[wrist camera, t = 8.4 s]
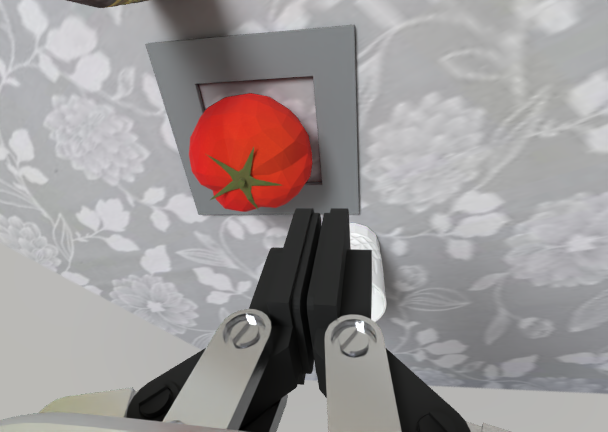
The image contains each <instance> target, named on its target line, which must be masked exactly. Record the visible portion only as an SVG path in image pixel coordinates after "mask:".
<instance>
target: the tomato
mask: <svg viewBox="0 0 608 432" xmlns="http://www.w3.org/2000/svg"><path fill="white" fill-rule="evenodd" d="M189 158H190V164H191V170H192V173H193V174H194V175H195V177H196V178H197V180H198V181H199V183H200V184H201V185H203V186H205V187H207V188H209V189H211V190H212V191H213V194H214V196H213V197H212V198H211V199H210V200H212V199H214V198H215V199H216V200H217V201H218V202H219V203H220V204H221V205H222V206H223V207H224V208H225V209H229V210H235V211H241V212H247V211H251V210H254V209H257V210H258V208H259V207H271V208H277V207H279V206H282V205H284V204H286V203H288V202H289V201H290V200H291V199H293V198H294V197H295V196H296V195H298V193H299V192H300V190H301V189H302V188H303V186H304V185H305V183H306V182H307V181H308V179H309V178H310V175H311V168H312V152H311V146H310V141H309V136H308V134H307V132H306V131H305V129H304V127H303V126H302V124H301V123H300V121H299V119H298V118H297V117H296V116H295V115H294V114H293V113H292V112H291V111H290V110H289V109H288V108H286V107H285V106H283V105H281V104H280V103H278V102H277V101H275V100H273V99H272V98H270V97H268V96H263V95H258V94H252V93H249V94H243V95H237V96H231V97H225V98H223V99H222V100H220V101H218V102H217V103H215V104H213V105H212V106H210V107H208V108H207V109H206V110H205V112H204V113H203V114H202V115H201V117H200V118H199V121H198V123H197V125H196V127H195V129H194V131H193V133H192V135H191V137H190V147H189Z"/></svg>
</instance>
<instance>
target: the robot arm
mask: <svg viewBox="0 0 608 432" xmlns="http://www.w3.org/2000/svg"><path fill="white" fill-rule="evenodd" d="M371 307H372V250H359V249H351V247H350V226H349V210H348V208H331V210H330V213H324V216H323V221H322V226H321V217H320V213H314V209H313V208H296V210H295V212H294V215H293V219H292V222H291V225H290V228H289V231H288V235H287V238H286V241H285V244H284V247H283V248H271V249H270V251H269V254H268V256H267V259H266V262H265V265H264V268H263V271H262V273H261V276H260V279H259V282H258V285H257V288H256V290H255V293H254V296H253V299H252V302H251V305H250V307H249V309H244V310H239V311H237V312H235V313H232V314H231V315H229V316H228V317H227V318H225V319H224V321H223V322H222V323H221V324H220V326H219V327H218V329H217V331H216V332H215V334H214V336H213V337H212V339H211V341H210V342H209V344H208V346H207V347H206V348H205V349H203V350H202V351H200V352H198V353H197V354H195V355H194V356H192V357H190V358H189V359H187V360H185V361H184V362H182V363H180V364H179V365H177V366H175V367H174V368H172V369H170V370H169V371H167V372H166V373H164V374H162V375H161V376H159V377H157V378H156V379H154V380H152V381H151V382H149V383H147V384H146V385H145V386H144V387H142V388H141V389H140V390H138V391H135V390H134V389H133V388H125V389H117V390H110V391H103V392H96V393H89V394H81V395H75V396H67V397H63V398H60V399H57V400H55V401H53V402H52V403H50V404H48V405H46V406H45V407H44V408H43V409H42V410H41V411H40V412H39V413H34V414H27V415H20V416H16V417H11V418H7V419H3V420H0V432H276V431H277V428H278V425H279V423H280V420H281V417H282V414H283V412H284V409H285V406H286V403H287V398H288V395H287V394H288V393H289V392H291V391H292V390H294V389H295V388H296V387H297V384H304V380H305V374H306V373H308V374H311V373H312V370H313V364H314V361H315V367H316V373H317V377H318V383H319V389H320V391H321V392H322V393H323V394H324V395H325V397H326V398H327V415H328V432H510V431H507V430H504V429H501V428H498V427H495V426H492V425H488V424H485V423H483V425H482V427H481V426H478V425H475V424H472V423H469V422H466V421H465V420H464V419H463V418H462V417H461V416H460V414H459V413H457V411H455V410H454V409H453V408H452V407H451V406H450V405H449V404H447V403H446V402H445V401H444V400H443V399H442V398H441V397H440V396H438V394H436V393H435V392H434V391H433V390H432V389H431V388H430V387H429V386H428V385H426V384H425V383H424V382H423V381H422V380H421V379H420V378H419V377H418V376H416V375H415V374H414V373H413V372H412V371H411V370H410V369H409V368H407V367H406V366H405V365H404V364H403V363H402V362H401V361H400V360H399V359H397V358H396V357H395V356H394V355H393V354H392V353H391V352H390V351H388V350H387V349H386V348H385V342H384V337H383V334H382V331H381V329H380V327H379V326H378V325H377V324H376V323H375V322H374V321H373V320H371Z"/></svg>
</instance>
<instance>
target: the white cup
mask: <svg viewBox="0 0 608 432" xmlns="http://www.w3.org/2000/svg"><path fill="white" fill-rule="evenodd" d="M349 226H350V247H351V249H359V250H372V307H371V320H373V321H374V322H376V321H377V320H379V319H380V318H381V317H382V315H383V314H384V312H385V310H386V294H385V284H384V274H383V266H382V259H381V254H380V246H379V242H378V239H377V236H376V234H375V233H374V232H373V231H371V230H370V229H369V228H368V227H367V226H363V225H360V224H357V223H349Z"/></svg>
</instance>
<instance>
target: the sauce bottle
mask: <svg viewBox="0 0 608 432" xmlns="http://www.w3.org/2000/svg"><path fill="white" fill-rule="evenodd" d="M67 1H72V2H76V3H80V4H84V5H89V6H93V7H97V8H105V7H113V6H118V5H126V4H130V3H138V2H143V1H148V0H67Z"/></svg>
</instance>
